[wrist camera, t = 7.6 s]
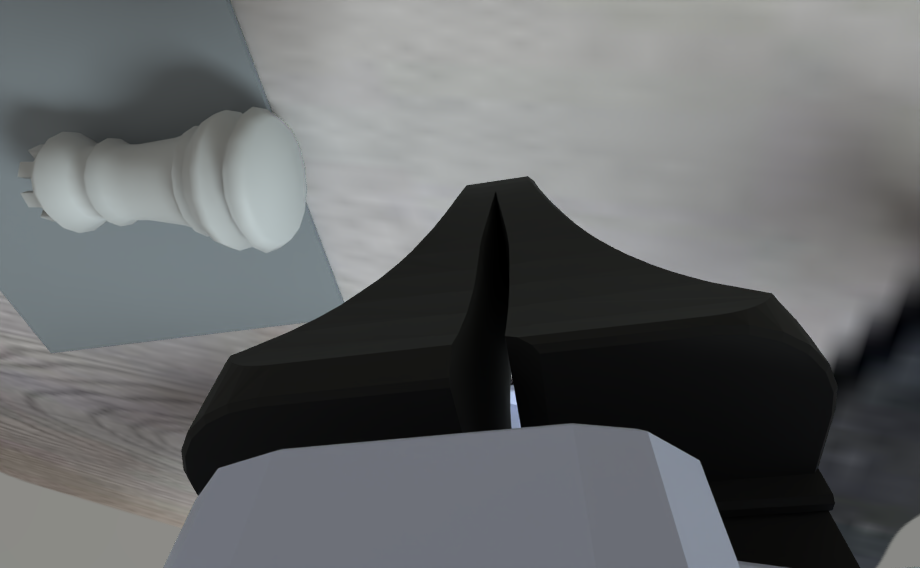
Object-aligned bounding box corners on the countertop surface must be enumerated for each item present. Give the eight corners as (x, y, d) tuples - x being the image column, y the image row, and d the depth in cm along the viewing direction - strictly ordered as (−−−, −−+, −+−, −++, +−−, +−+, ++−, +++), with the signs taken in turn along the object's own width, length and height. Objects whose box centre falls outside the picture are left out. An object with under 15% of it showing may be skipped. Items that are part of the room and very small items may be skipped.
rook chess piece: (242, 251, 15) (-13, 248, 16) (310, 255, 20) (105, 252, 21) (243, 84, 15) (-15, 93, 16) (311, 126, 19) (105, 131, 21)
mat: (347, 313, 24) (346, 317, 23) (55, 348, 25) (50, 353, 25) (168, -163, 14) (162, -164, 14) (-267, -53, 16) (-278, -52, 16)
